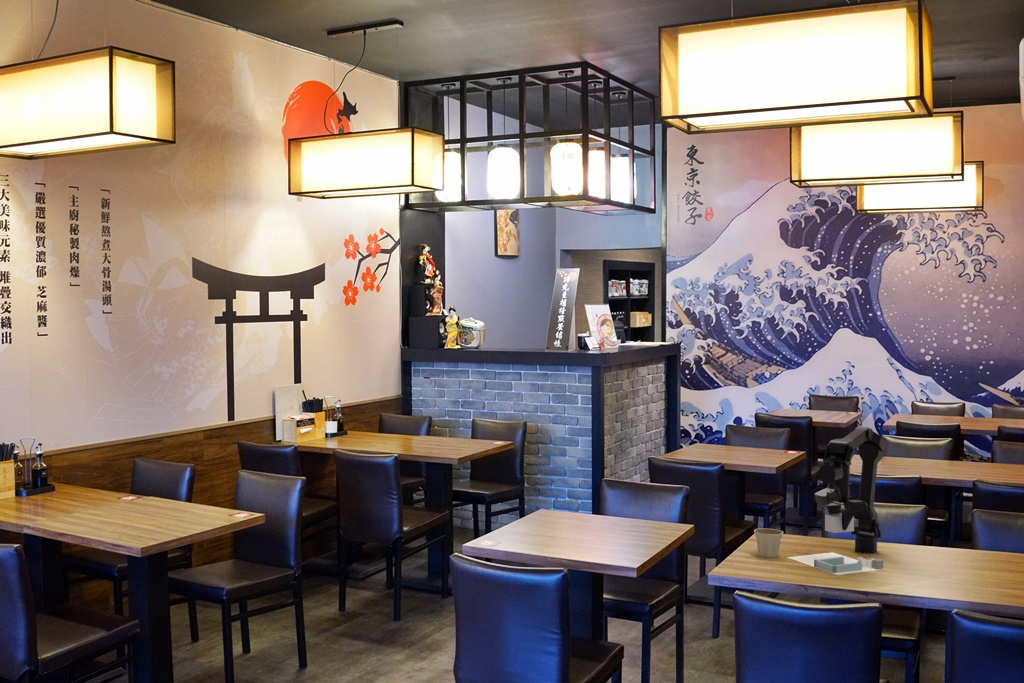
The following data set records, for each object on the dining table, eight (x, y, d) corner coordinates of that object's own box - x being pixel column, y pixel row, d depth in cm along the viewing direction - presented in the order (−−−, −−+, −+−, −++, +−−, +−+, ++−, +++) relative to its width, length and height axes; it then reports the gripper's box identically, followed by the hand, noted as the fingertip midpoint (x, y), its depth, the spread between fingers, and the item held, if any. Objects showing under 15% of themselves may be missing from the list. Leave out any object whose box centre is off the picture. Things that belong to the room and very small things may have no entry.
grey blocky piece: (868, 563, 296) (868, 555, 296) (883, 568, 290) (883, 560, 290) (856, 565, 294) (856, 557, 294) (871, 570, 288) (871, 561, 288)
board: (832, 554, 312) (832, 552, 312) (885, 571, 290) (885, 569, 290) (786, 559, 304) (786, 557, 304) (837, 577, 283) (837, 574, 283)
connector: (825, 530, 298) (825, 514, 298) (851, 528, 301) (851, 512, 301) (833, 532, 294) (833, 517, 294) (860, 530, 298) (860, 515, 298)
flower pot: (780, 554, 312) (780, 528, 312) (785, 561, 302) (785, 534, 302) (751, 553, 313) (751, 527, 313) (756, 560, 303) (756, 534, 303)
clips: (866, 563, 297) (866, 556, 297) (878, 567, 292) (878, 560, 292) (855, 564, 295) (855, 557, 295) (866, 568, 290) (866, 561, 290)
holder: (814, 566, 293) (814, 559, 293) (841, 563, 297) (841, 556, 297) (834, 573, 285) (834, 566, 285) (862, 569, 289) (862, 563, 289)
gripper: (800, 477, 303) (799, 524, 303) (840, 485, 285) (839, 536, 286) (828, 475, 307) (827, 522, 307) (868, 484, 289) (868, 534, 290)
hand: (839, 528), depth 297 cm, fingers closed on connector, 4 cm apart
